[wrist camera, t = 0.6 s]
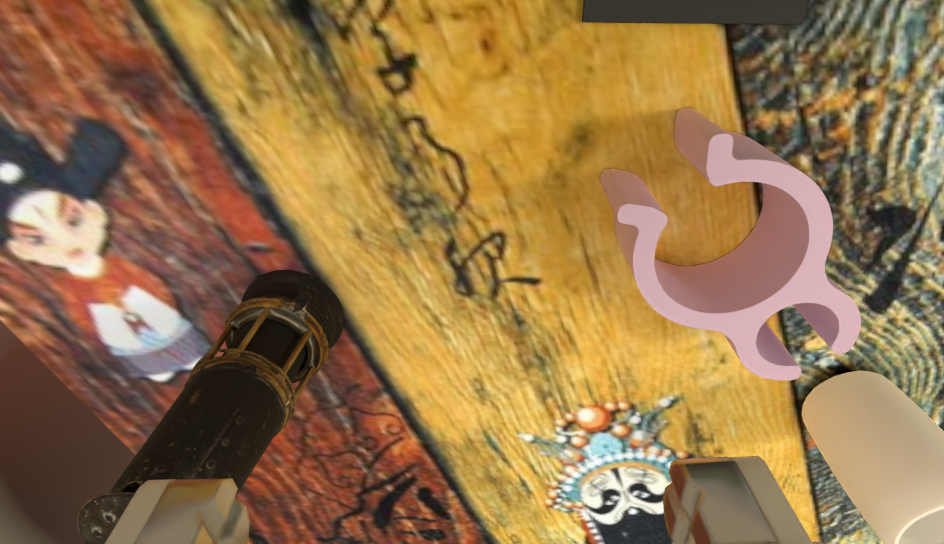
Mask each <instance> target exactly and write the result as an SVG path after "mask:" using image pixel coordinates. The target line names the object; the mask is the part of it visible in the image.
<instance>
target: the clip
mask: <svg viewBox="0 0 944 544" xmlns="http://www.w3.org/2000/svg"><path fill="white" fill-rule="evenodd" d="M674 140H675V143H676V146H677V149H678V151H679V152H680V153H681V154H682V155H683V156H684V157H685V158H686V159H687V160H688V161H689V162H690V163H691V164H692V165H693V166H694V167H695V168H696V169H697V170H698V171H699V172H700V173H701V174H702V175H703V176H704V177H705V178H706V179H707V180H708V181H709V182H710V183H711V184H712V185H714V186H721V185H725V184H729V183H735V182H760V183H761V185H762V189H763V205H762V210H761V213H760V216H759V219H758V221H757V223H756V225H755V227H754V228H753V230H752V231H751V233H750V234H749V235H748V237H747V238H746V239H745V240H744V241H743V242H742V243H741V244H740V245H739V246H738V247H737V248H735V249H734V250H733V251H731V252H730V253H728V254H726V255H725V256H723V257H721V258H719V259H717V260H714V261H711V262H709V263H705V264H701V265H695V266H677V265H672V264H668V263H665V262H662V261H660V260H658V259H656V258H654V256H655V249H656V245H657V242H658V239H659V237H660V235H661V233H662V231H663V229H664V227H665V226H666V224H667V222H668V218H667V216H666V214H665V213H664V211H663V210H662V208H661V207H660V205H659V204H658V202H657V201H656V199H655V198H654V197H653V195H652V194H651V192H650V191H649V189H648V188H647V186H646V185H645V183H644V182H643V180H642V179H641V178H640V177H638V176H637V175H635V174H633V173H631V172H628V171H622V170H616V169H605V170H604V171H603V172H602V174H601V177H600V182H601V184H602V186H603V189H604V191H605V193H606V195H607V197H608V199H609V201H610V204H611V206H612V208H613V210H614V226H615V232H616V236H617V239H618V242H619V244H620V247H621V249H622V251H623V254H624V256H625V258H626V260H627V263H628V265H629V267H630V270H631V272H632V274H633V277H634V279H635V281H636V284H637V286H638V288H639V290H640V292H641V294H642V296H643V297H644V299H645V300H646V301H647V303H648V304H649V305H650V306H651V307H652V308H653V309H654V310H655V311H656V312H658V313H659V314H660V315H662V316H663V317H665V318H667V319H668V320H670V321H672V322H675V323H677V324H680V325H683V326H687V327H691V328H696V329H706V330H714V331H718V332H720V333H722V334H724V335H725V337H726V338H727V340H728V342H729V343H730V345H731V347H732V348H733V350H734V351H735V353H736V355H737V356H738V358H739V360H740V361H741V363H742V364H743V365H744V366H745V367H746V368H747V369H748V370H749V371H750V372H752V373H754V374H755V375H757V376H760V377H763V378H766V379H771V380H781V381H785V380H795V379H797V378H799V377H800V376H801V368H800V367H799V365H798V364H797V363H796V361H795V360H794V359H793V357H792V356H791V355H790V354H789V352H788V351H787V350H786V348H785V347H784V346H783V344H782V343H781V342H780V340H779V339H778V338H777V336H776V335H775V334H774V332H773V331H772V330H771V328H770V327H769V326H768V324H767V323H766V322H765V321H766V320H767V319H768V318H769V317H770V316H772V315H773V314H774V313H776V312H777V311H779V310H781V309H783V308H785V307H788V306H791V305H793V306H794V307H795V308H796V309H797V310H798V312H799V313H800V314H801V315H802V316H803V317H804V318H805V320H806V321H807V322H808V323H809V324H810V325H811V326H812V328H813V329H814V330H815V331H816V332H817V333H818V334H819V336H820V337H821V338H822V339H823V340H824V341H825V342H826V344H827V345H828V346H829V347H830V348H831V349H832V350H833V351H834V352H836V353H839V354H843V353H846V352H848V351H849V350H850V349H851V347H852V346H853V344H854V343H855V341H856V339H857V337H858V334H859V331H860V327H861V316H860V312H859V309H858V307H857V305H856V303H855V302H854V301H853V300H852V299H851V298H850V297H849V296H848V295H847V294H846V293H845V292H844V291H843V290H842V289H841V288H840V287H839V286H837V285H836V284H835V283H834V282H833V281H832V280H831V279H830V278H829V277H828V276H827V275H826V274H825V261H826V258H827V255H828V252H829V249H830V245H831V241H832V234H833V220H832V214H831V210H830V206H829V204H828V201H827V199H826V197H825V195H824V194H823V192H822V191H821V189H820V188H819V187H818V186H817V184H816V183H815V182H814V181H813V180H812V179H810V178H809V177H808V176H807V175H805V174H804V173H802V172H801V171H799V170H798V169H796V168H795V167H793V166H792V165H790V164H789V163H787V162H786V161H784V160H783V159H781V158H780V157H778V156H777V155H775V154H774V153H772V152H771V151H769V150H768V149H766V148H765V147H763V146H762V145H760V144H759V143H757V142H756V141H754V140H752V139H751V138H749V137H747V136H744V135H742V134H739V133H735V132H731V131H726V130H723V129H721V128H720V127H718V126H717V125H716V124H714V123H713V122H711V121H710V120H709V119H707V118H706V117H704V116H703V115H702V114H700V113H699V112H697V111H696V110H695V109H693V108H682V109H680V110H679V111H678V112H677V114H676V119H675V132H674Z"/></svg>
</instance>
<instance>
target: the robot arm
mask: <svg viewBox="0 0 944 544" xmlns="http://www.w3.org/2000/svg"><path fill="white" fill-rule="evenodd" d="M669 474H670V477H671V480H672V483H671V484H670V485H668V486H667V487H666V488H665V492H664V498H663V505H664V517H665V521H666V525H667V529H668V532H669V535H670V538H671V541H672V542H673V543H674V544H823V543H821V542H811V540H810V538H809V536H808V535H807V533H806V531H805V530H804V528H803V526H802V524H801V523H800V521H799V519H798V518H797V516H796V514H795V512H794V511H793V509H792V507H791V506H790V504H789V502H788V500H787V499H786V497H785V495H784V494H783V492H782V490H781V488H780V487H779V485H778V483H777V482H776V480H775V478H774V477H773V475H772V473H771V471H770V470H769V468H768V466H767V465H766V463H765V461H764V460H762V459H761V458H760V457H759V456H747V457H730V458H728V457H713V458H695V459H677V460H674V461H673V462H672V463H671V465H670V469H669ZM237 491H238V488H237V486H236V484H235V482H234V481H233V479H232V478H227V479H169V480H147V481H146V482H145V483H144V484H143V485H142V486H140V487H139V488H138V490H137V491H136V493H135V495H134V496H133V498H132V500H131V501H130V503H129V504H128V506H127V508H126V509H125V511H124V513H123V514H122V516H121V518H120V519H119V521H118V523H117V524H116V526H115V528H114V529H113V531H112V533H111V534H110V536H109V537H108V539H107V541H106V542H105V544H247V542H248V535H249V527H250V521H249V513H248V511H247V508H246V506H245V504H243V503H242V502H240V501H239V500H237V499H236V498H235V496H236V494H237Z"/></svg>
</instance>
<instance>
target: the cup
mask: <svg viewBox="0 0 944 544" xmlns="http://www.w3.org/2000/svg"><path fill="white" fill-rule="evenodd" d="M802 418H803V422H804V424H805V426H806V427H807V429H808V431H809V433H810V435H811V437H812V438H813V440H814V442H815V443H816V445H817V447H818V449H819V450H820V452H821V454H822V455H823V457H824V459H825V460H826V462H827V464H828V465H829V467H830V468H831V470H832V472H833V473H834V475H835V476H836V478H837V479H838V481H839V483H840V484H841V486H842V487H843V489H844V490H845V492H846V493H847V495H848V496H849V498H850V499H851V501H852V502H853V503H854V505H855V506H856V507H857V509H858V510H859V512H860V513H861V514H862V516H863V517H864V519H865V520H866V521H867V523H868V524H869V525H870V527H871V528H872V529H873V530H874V532H875V533H876V534H877V535H878V537H879V538H880V539H881V540H882V542H883V543H884V544H944V431H943V430H942V429H941V428H940V427H939V426H938V425H937V424H936V423H935V422H934V421H933V420H932V419H931V418H930V417H929V416H928V415H927V414H926V413H925V412H924V411H923V410H922V409H921V408H919V407H918V406H917V405H916V404H915V403H914V402H913V401H912V400H911V399H910V398H909V397H908V396H907V395H905V394H904V393H903V392H902V391H901V390H900V389H899V388H898V387H897V386H895V385H894V384H893V383H892V382H891V381H890V380H888V379H887V378H886V377H884V376H883V375H880V374H877V373H874V372H869V371H854V372H847V373H844V374H840V375H837V376H834V377H832V378H830V379H828V380H826V381H824V382H822V383H821V384H819V385H818V386H817V387H815V388H814V389H813V390H812V391H811V392H810V394H809V395H808V396H807V397H806V399H805V401H804V404H803V406H802Z"/></svg>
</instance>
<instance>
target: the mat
mask: <svg viewBox="0 0 944 544" xmlns="http://www.w3.org/2000/svg"><path fill="white" fill-rule="evenodd" d="M809 1H810V0H584V4H583V15H582V22H615V23H712V24H803V22H804V19H805V15H806V11H807V8H808V4H809Z"/></svg>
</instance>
